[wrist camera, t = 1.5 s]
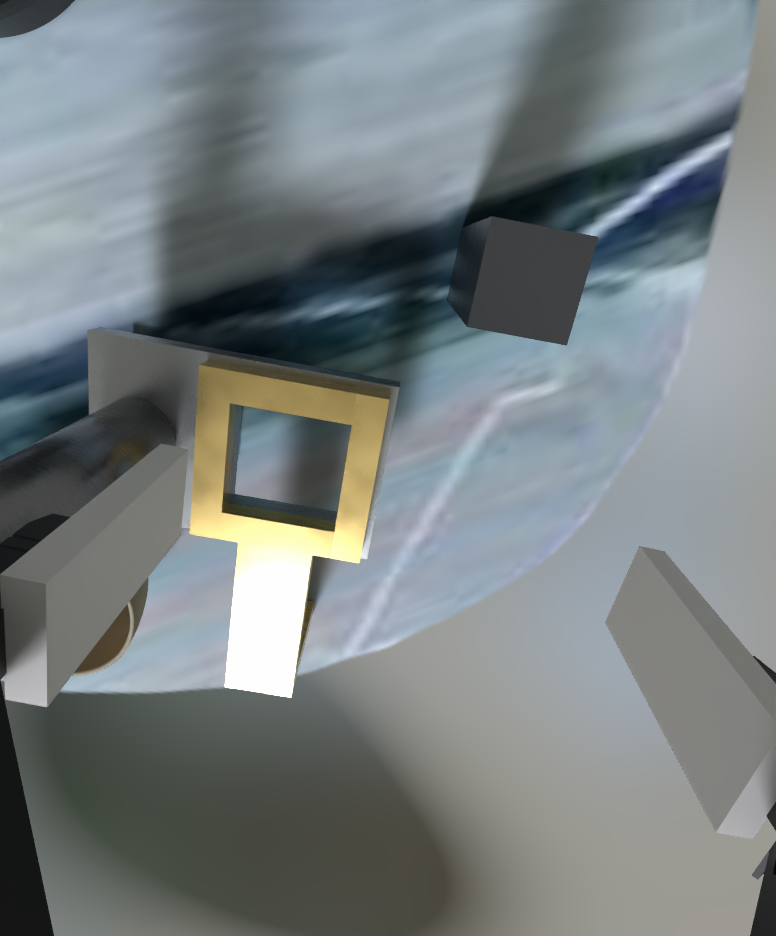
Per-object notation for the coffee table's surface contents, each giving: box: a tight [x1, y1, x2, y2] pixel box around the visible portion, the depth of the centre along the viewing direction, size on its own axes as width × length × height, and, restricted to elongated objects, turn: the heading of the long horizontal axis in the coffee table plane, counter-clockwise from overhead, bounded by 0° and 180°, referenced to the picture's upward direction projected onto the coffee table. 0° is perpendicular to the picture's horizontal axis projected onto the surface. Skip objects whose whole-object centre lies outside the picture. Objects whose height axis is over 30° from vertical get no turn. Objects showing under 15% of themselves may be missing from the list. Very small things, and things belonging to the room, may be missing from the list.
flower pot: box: [72, 578, 148, 676], centre depth 37 cm, size 10×10×7 cm
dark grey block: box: [447, 216, 598, 345], centre depth 27 cm, size 4×4×12 cm
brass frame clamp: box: [0, 327, 400, 697], centre depth 27 cm, size 20×16×22 cm
